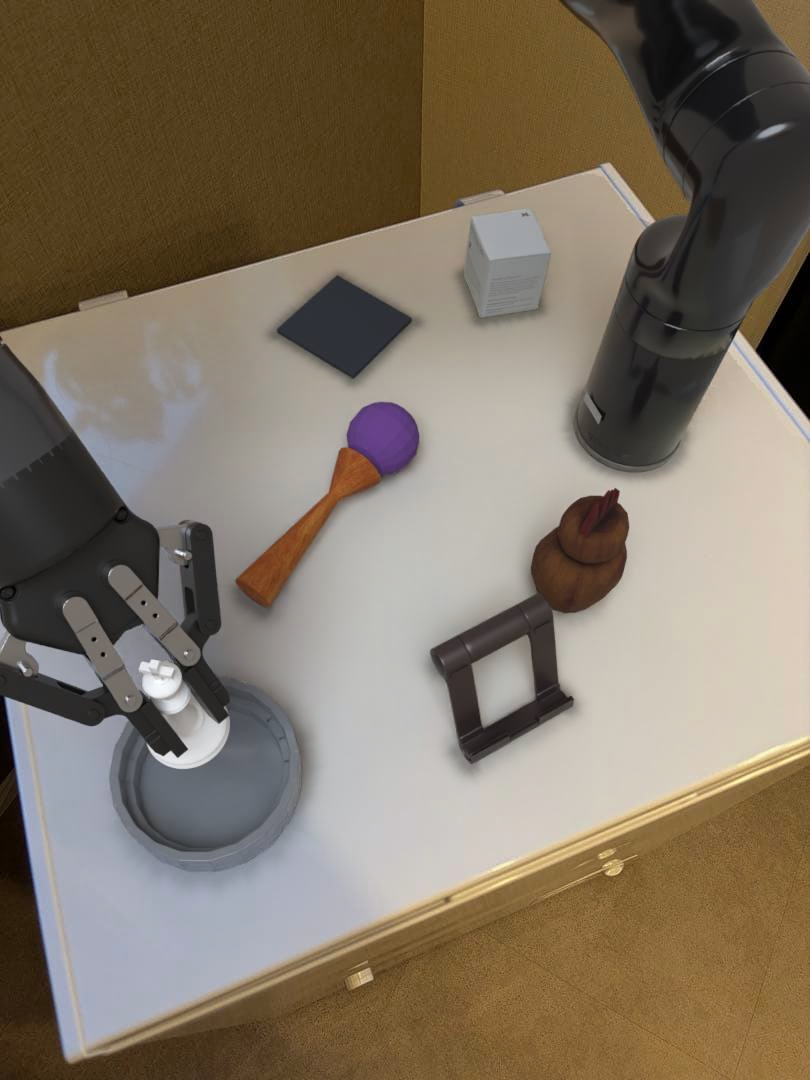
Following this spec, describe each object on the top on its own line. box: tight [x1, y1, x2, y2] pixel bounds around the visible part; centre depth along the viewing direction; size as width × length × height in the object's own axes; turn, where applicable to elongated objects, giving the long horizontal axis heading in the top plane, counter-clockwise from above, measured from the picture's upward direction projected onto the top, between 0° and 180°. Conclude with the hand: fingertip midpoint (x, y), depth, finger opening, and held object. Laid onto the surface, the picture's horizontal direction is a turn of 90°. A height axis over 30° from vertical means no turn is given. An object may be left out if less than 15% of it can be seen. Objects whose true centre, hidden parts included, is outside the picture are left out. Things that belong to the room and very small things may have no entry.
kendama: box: [234, 401, 420, 609], centre depth 71 cm, size 6×6×20 cm
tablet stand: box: [429, 593, 575, 765], centre depth 62 cm, size 9×8×8 cm
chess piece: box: [138, 658, 230, 769], centre depth 48 cm, size 5×5×10 cm
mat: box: [276, 275, 413, 379], centre depth 83 cm, size 9×9×1 cm
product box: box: [463, 207, 553, 319], centre depth 84 cm, size 6×6×7 cm
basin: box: [108, 676, 303, 872], centre depth 60 cm, size 12×12×4 cm
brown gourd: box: [530, 487, 630, 614], centre depth 64 cm, size 7×6×15 cm
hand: (198, 731), depth 48 cm, fingers closed on chess piece
